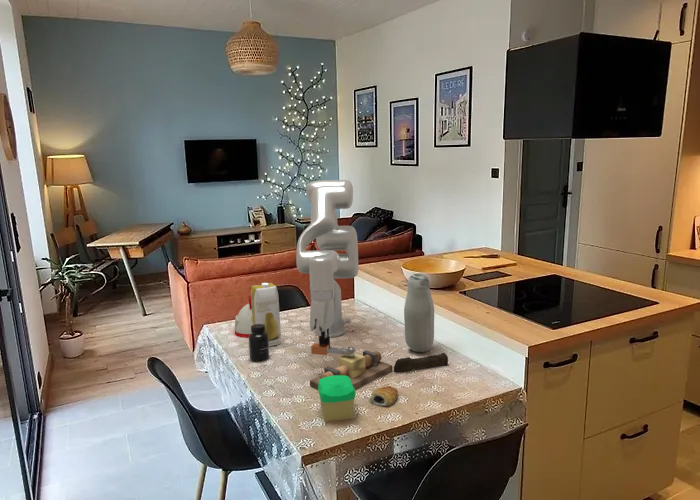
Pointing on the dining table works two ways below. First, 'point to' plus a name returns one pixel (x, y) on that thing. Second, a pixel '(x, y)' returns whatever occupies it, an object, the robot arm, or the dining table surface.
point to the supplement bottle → (258, 343)
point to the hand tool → (419, 362)
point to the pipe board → (364, 376)
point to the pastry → (384, 396)
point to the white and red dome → (244, 321)
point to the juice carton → (266, 310)
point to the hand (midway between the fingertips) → (324, 348)
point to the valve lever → (331, 350)
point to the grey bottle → (419, 314)
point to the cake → (336, 397)
